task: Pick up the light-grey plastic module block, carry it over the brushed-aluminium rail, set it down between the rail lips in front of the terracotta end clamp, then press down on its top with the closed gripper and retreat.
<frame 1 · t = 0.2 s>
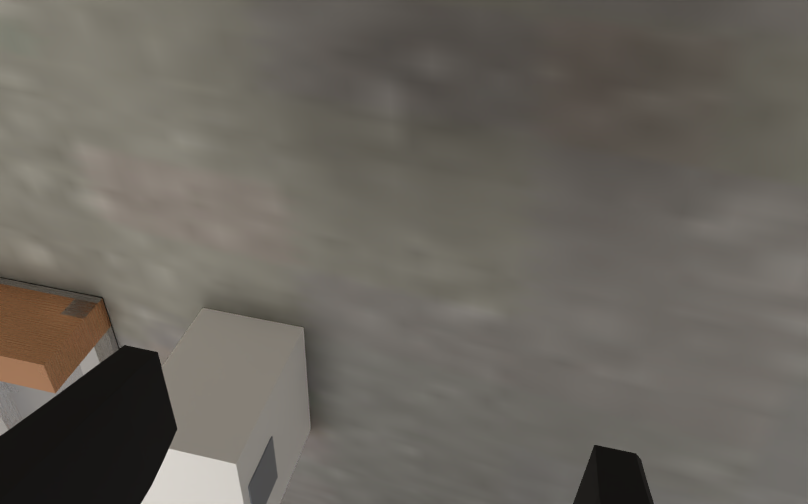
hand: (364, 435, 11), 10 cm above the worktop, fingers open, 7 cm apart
rail: (67, 402, 31), on the worktop
module: (260, 371, 27), on the worktop
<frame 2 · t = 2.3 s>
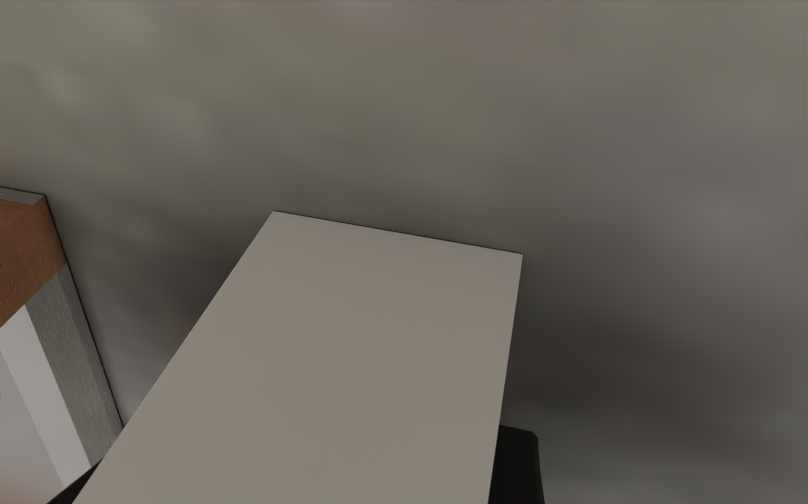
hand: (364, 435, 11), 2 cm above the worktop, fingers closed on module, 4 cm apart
module: (388, 363, 12), on the worktop, touching gripper
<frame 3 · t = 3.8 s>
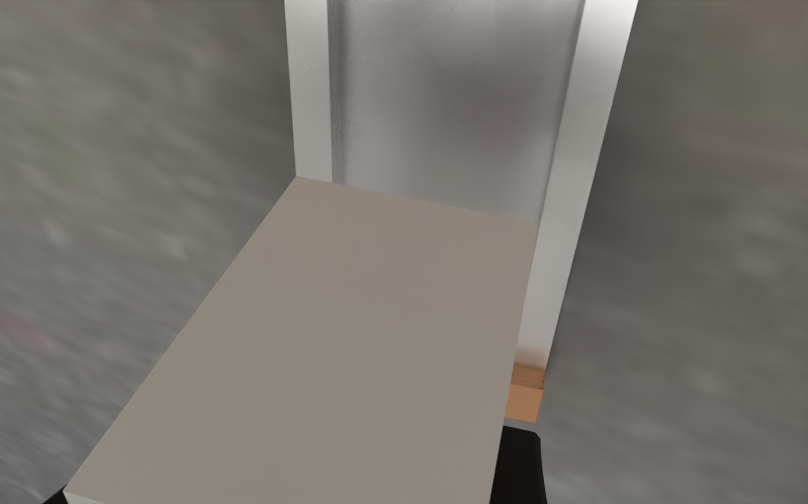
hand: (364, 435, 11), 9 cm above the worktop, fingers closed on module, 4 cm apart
rail: (444, 156, 18), on the worktop
module: (402, 331, 13), point 7 cm above the worktop, touching gripper
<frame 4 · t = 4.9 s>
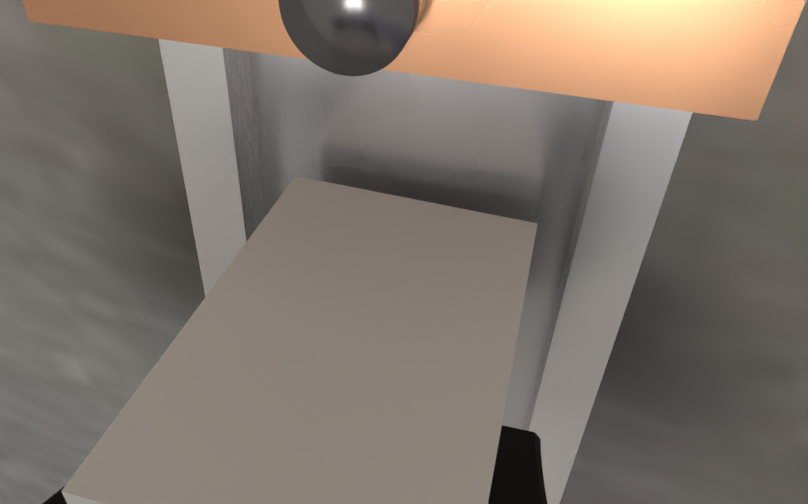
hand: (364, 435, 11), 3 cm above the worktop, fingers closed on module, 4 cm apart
rail: (409, 289, 13), on the worktop
module: (402, 331, 13), point 1 cm above the worktop, touching gripper
when the fingers open (3 cm above the worktop, at t = 5.5 s): module stays where it is, resting on rail.
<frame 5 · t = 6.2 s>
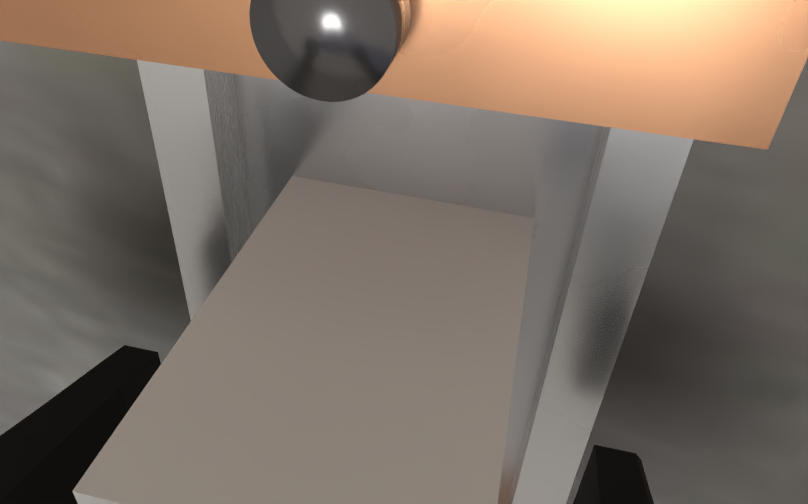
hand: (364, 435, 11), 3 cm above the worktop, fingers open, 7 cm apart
rail: (401, 308, 13), on the worktop
module: (400, 329, 13), resting on rail
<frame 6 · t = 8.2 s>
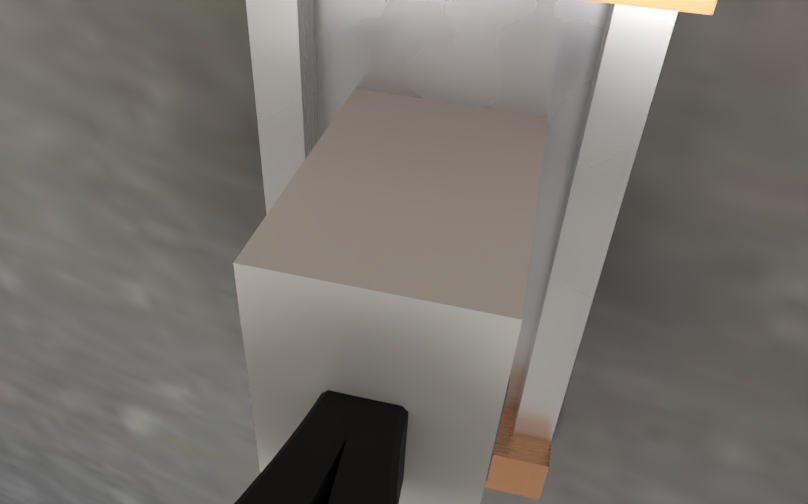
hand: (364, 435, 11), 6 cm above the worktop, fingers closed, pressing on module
rail: (438, 206, 16), on the worktop
module: (436, 222, 15), resting on rail, touching gripper
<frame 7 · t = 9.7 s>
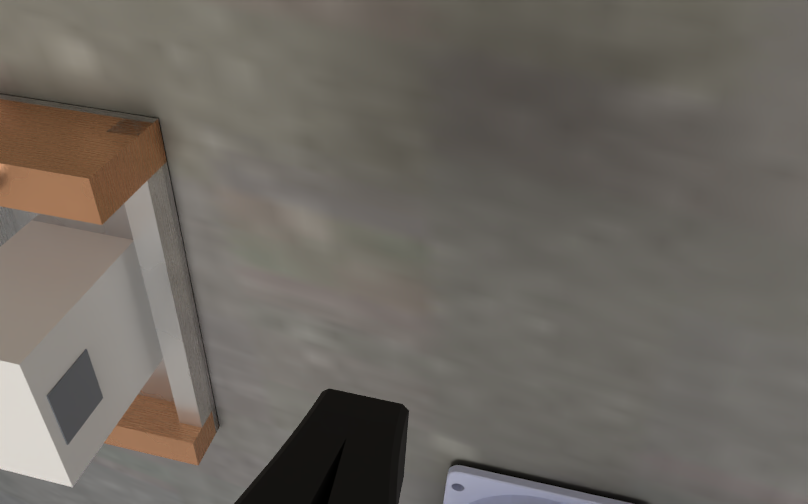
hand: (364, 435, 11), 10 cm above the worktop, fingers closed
rail: (103, 283, 26), on the worktop
module: (101, 293, 25), resting on rail
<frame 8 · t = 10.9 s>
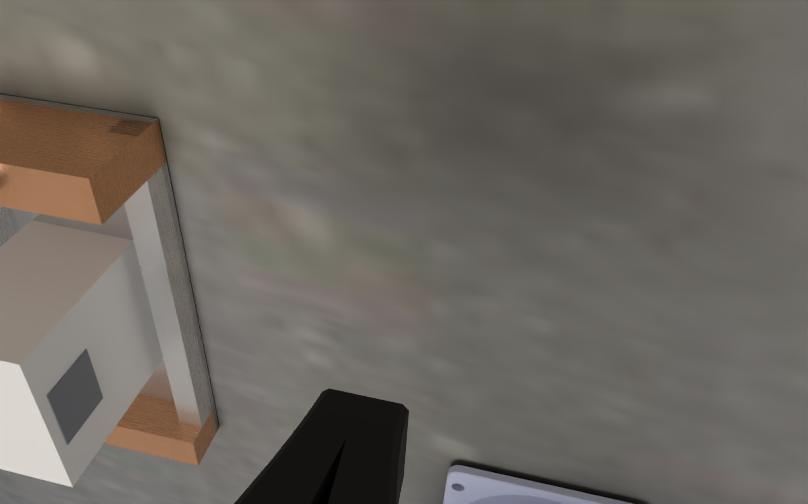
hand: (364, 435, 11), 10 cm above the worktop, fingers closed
rail: (103, 283, 26), on the worktop
module: (101, 293, 25), resting on rail
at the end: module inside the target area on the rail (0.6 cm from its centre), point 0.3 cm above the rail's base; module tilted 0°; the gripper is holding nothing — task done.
